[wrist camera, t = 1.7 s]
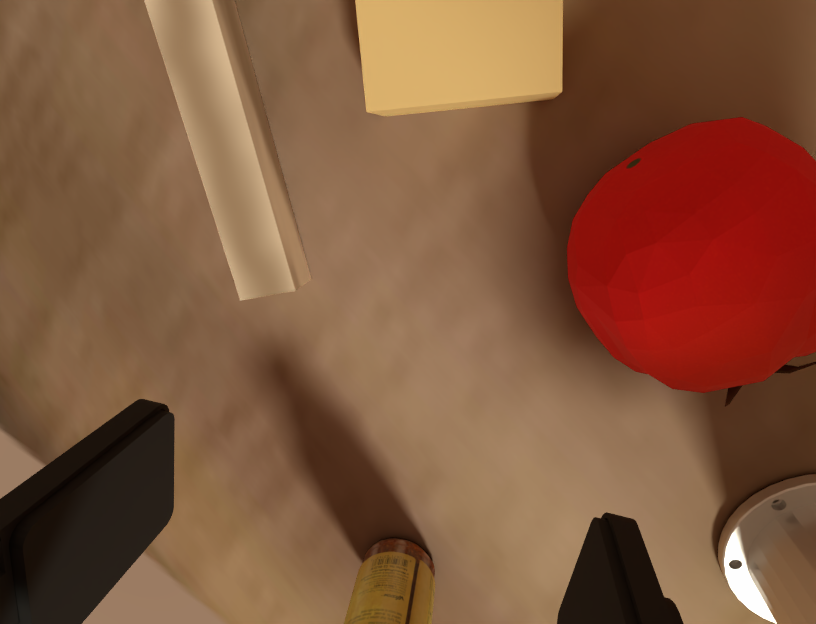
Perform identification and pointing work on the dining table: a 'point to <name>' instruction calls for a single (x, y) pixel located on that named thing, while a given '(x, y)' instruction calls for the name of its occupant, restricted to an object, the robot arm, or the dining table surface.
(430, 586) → the sauce bottle
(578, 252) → the tomato
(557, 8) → the block
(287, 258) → the pale grey bar
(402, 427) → the dining table surface
